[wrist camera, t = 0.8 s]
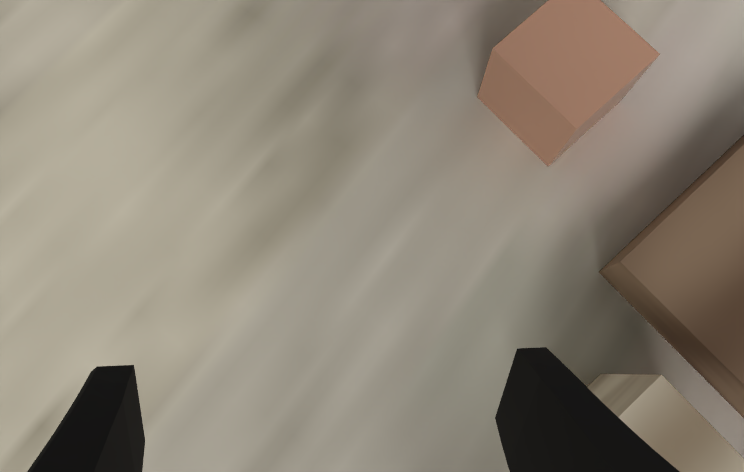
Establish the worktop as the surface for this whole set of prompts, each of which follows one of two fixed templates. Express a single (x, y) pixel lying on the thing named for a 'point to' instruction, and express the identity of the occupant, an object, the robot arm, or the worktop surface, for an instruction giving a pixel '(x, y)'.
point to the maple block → (666, 422)
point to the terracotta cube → (563, 73)
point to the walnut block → (695, 274)
